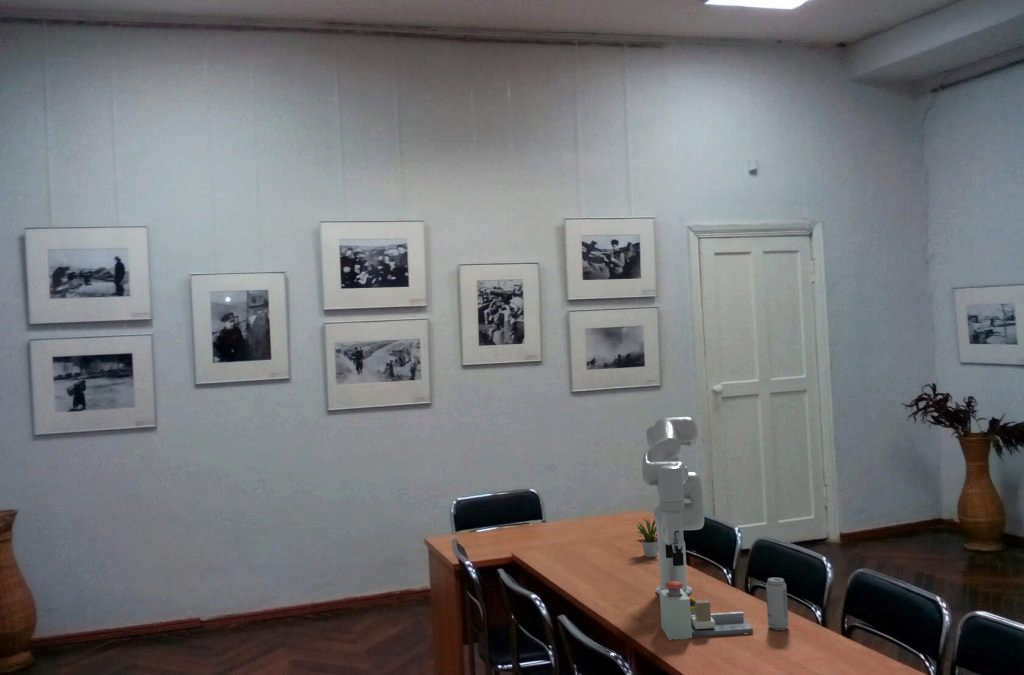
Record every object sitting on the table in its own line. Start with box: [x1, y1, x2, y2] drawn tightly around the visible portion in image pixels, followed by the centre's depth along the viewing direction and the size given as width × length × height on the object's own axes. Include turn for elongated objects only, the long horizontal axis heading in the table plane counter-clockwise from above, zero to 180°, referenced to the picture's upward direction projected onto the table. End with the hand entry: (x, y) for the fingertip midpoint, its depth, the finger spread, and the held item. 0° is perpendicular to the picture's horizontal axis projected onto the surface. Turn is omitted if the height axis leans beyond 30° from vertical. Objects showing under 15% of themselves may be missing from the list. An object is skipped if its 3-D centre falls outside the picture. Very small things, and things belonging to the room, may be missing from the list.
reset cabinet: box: [659, 589, 692, 641], centre depth 268 cm, size 11×7×12 cm, turn 2°
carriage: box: [692, 599, 715, 629], centre depth 269 cm, size 5×6×8 cm
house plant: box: [636, 517, 659, 558], centre depth 363 cm, size 14×14×16 cm
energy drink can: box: [765, 576, 789, 631], centre depth 268 cm, size 6×6×15 cm
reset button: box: [665, 581, 683, 597], centre depth 268 cm, size 5×5×6 cm
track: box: [691, 611, 754, 638], centre depth 269 cm, size 9×19×4 cm, turn 92°
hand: (674, 561), depth 268 cm, fingers open, 9 cm apart
